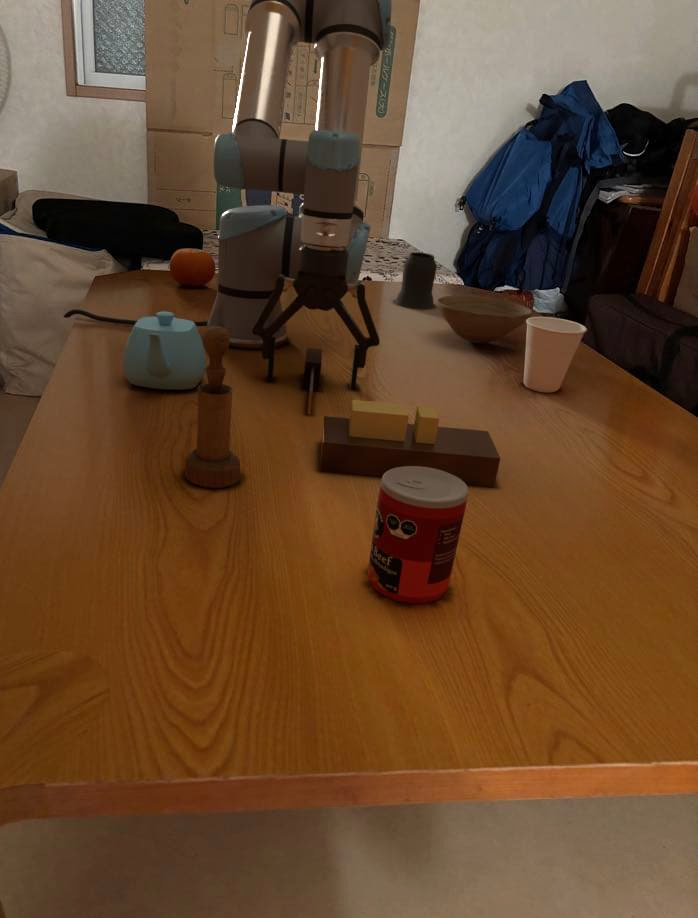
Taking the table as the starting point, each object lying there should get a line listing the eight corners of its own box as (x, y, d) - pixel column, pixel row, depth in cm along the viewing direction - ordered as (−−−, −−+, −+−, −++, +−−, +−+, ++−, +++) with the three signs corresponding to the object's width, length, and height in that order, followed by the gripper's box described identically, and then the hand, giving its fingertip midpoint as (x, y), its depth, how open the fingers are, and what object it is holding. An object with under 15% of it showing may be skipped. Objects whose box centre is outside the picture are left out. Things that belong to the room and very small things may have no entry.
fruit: (163, 286, 179) (163, 250, 175) (176, 278, 188) (177, 243, 184) (208, 292, 178) (209, 255, 174) (219, 283, 187) (220, 248, 183)
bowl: (465, 326, 169) (472, 289, 165) (540, 348, 158) (549, 308, 154) (413, 337, 157) (419, 297, 153) (490, 362, 146) (499, 319, 142)
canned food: (360, 562, 79) (374, 463, 73) (436, 563, 80) (456, 466, 74) (373, 605, 72) (390, 500, 67) (456, 606, 73) (479, 503, 68)
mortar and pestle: (247, 472, 95) (255, 326, 86) (227, 493, 90) (233, 339, 81) (198, 461, 97) (201, 317, 88) (175, 481, 92) (175, 329, 83)
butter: (349, 436, 98) (352, 410, 96) (348, 425, 101) (352, 399, 99) (404, 441, 98) (408, 415, 96) (402, 429, 101) (406, 404, 99)
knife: (317, 415, 114) (320, 385, 112) (299, 414, 114) (302, 384, 112) (319, 375, 131) (322, 349, 128) (304, 374, 131) (306, 347, 128)
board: (319, 471, 97) (323, 441, 95) (321, 443, 105) (324, 415, 103) (494, 487, 97) (500, 458, 95) (482, 458, 105) (488, 431, 103)
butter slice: (415, 442, 98) (420, 416, 96) (412, 430, 101) (417, 405, 99) (434, 444, 98) (439, 418, 96) (431, 432, 101) (435, 407, 99)
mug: (434, 310, 180) (443, 260, 174) (395, 306, 180) (402, 256, 175) (431, 299, 190) (439, 251, 185) (394, 295, 191) (401, 247, 185)
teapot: (107, 326, 108) (134, 297, 124) (110, 399, 113) (135, 362, 129) (197, 334, 108) (212, 304, 124) (196, 406, 114) (211, 369, 129)
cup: (572, 400, 130) (590, 335, 125) (513, 392, 131) (528, 327, 126) (566, 382, 139) (583, 321, 133) (510, 375, 140) (524, 313, 134)
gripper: (239, 242, 113) (233, 382, 124) (408, 258, 113) (388, 396, 124) (244, 234, 120) (238, 368, 130) (404, 249, 120) (385, 382, 130)
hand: (311, 382), depth 127 cm, fingers open, 13 cm apart
